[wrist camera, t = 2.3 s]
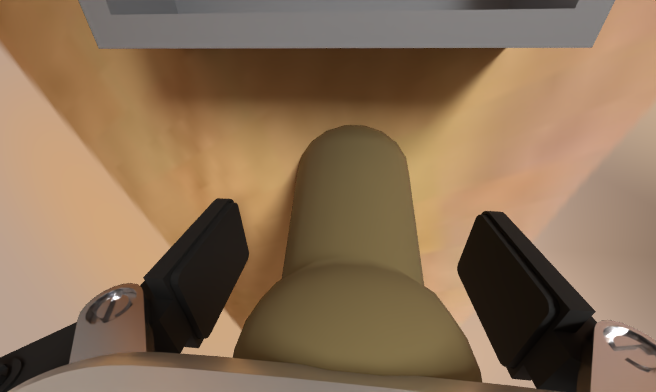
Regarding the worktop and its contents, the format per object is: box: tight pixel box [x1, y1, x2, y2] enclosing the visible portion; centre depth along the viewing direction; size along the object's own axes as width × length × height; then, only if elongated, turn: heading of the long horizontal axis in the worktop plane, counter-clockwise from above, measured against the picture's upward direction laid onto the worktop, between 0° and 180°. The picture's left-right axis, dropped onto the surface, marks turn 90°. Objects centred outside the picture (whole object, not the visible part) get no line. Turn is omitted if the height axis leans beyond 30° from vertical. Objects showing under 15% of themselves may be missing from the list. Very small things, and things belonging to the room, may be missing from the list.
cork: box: [233, 125, 482, 383], centre depth 9 cm, size 6×6×11 cm
